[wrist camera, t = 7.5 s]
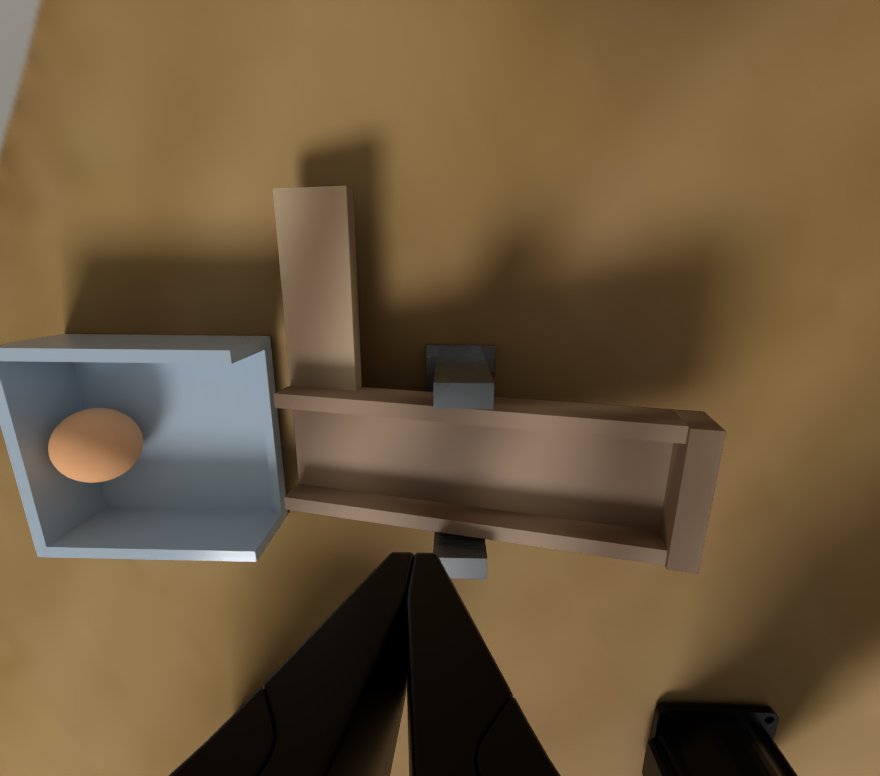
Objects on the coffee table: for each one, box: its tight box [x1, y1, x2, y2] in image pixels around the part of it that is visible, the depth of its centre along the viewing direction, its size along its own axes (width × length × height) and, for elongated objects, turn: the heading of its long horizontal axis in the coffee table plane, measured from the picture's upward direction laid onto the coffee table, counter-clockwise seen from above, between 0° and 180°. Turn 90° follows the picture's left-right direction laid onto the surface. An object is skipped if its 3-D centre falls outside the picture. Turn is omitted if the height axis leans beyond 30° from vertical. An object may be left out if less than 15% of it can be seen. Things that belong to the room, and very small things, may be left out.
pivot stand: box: [427, 344, 495, 579], centre depth 18 cm, size 3×8×5 cm, turn 0°
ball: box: [48, 408, 143, 483], centre depth 18 cm, size 3×3×3 cm
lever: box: [273, 186, 726, 574], centre depth 16 cm, size 16×13×3 cm
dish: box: [0, 334, 288, 562], centre depth 19 cm, size 9×9×4 cm
